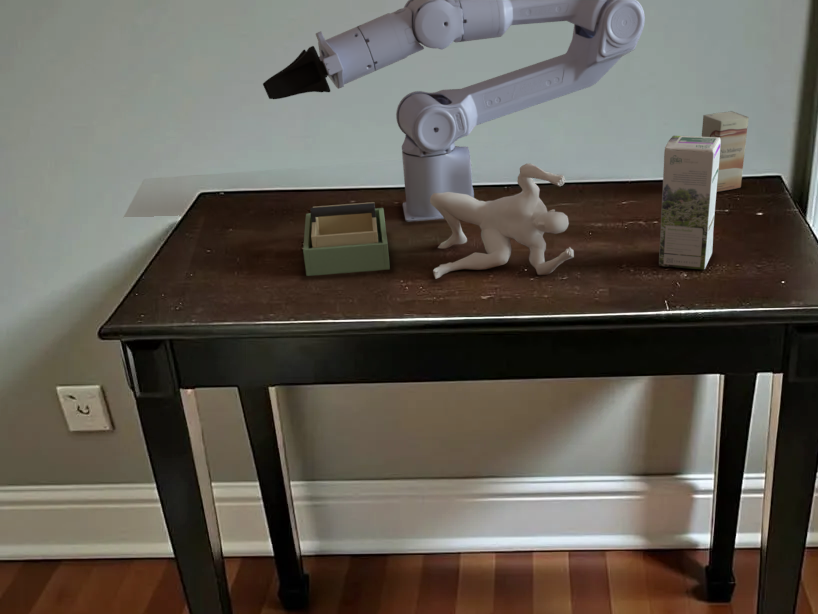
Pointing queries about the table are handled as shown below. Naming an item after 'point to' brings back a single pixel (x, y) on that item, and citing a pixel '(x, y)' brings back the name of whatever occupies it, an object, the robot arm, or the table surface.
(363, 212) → the cream bin
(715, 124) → the makeup remover box
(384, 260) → the sage bin
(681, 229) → the syrup box
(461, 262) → the person figurine
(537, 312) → the table surface
